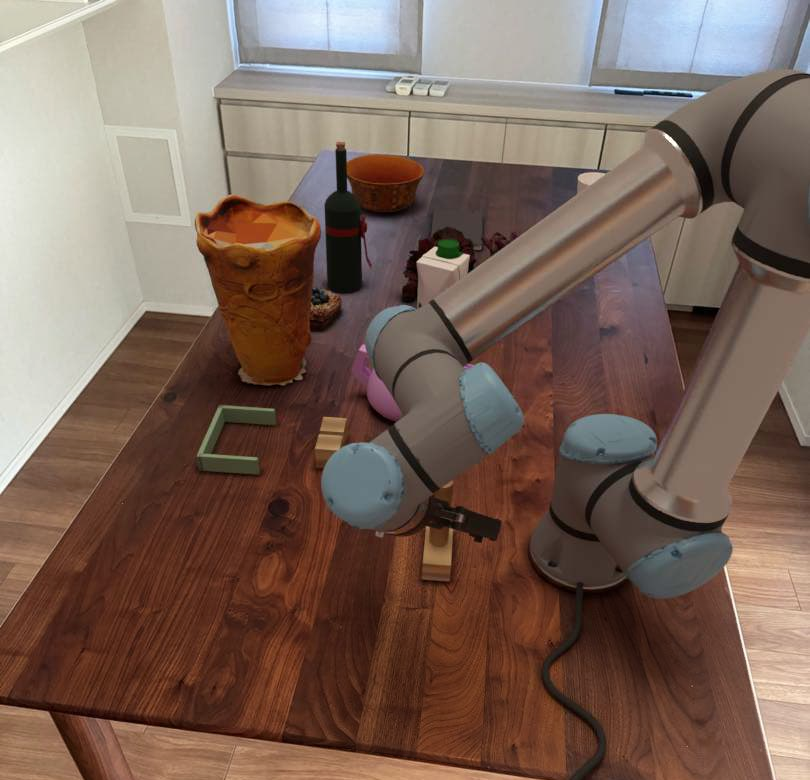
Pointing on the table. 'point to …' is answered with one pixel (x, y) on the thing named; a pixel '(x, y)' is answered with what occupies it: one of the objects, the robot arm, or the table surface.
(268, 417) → the frame
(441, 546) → the peg on base
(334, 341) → the table surface
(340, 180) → the wine bottle
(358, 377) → the teapot
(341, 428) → the cube
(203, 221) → the vase
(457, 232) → the flower arrangement
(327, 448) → the cube
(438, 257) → the soya milk
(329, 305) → the pastry
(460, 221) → the notebook
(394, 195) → the bowl
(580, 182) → the cup
